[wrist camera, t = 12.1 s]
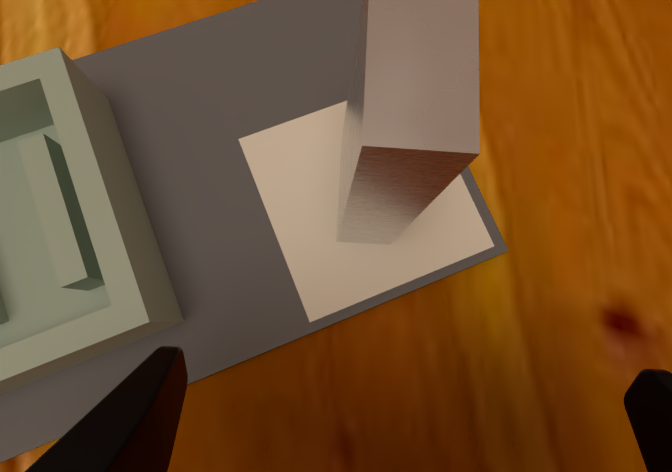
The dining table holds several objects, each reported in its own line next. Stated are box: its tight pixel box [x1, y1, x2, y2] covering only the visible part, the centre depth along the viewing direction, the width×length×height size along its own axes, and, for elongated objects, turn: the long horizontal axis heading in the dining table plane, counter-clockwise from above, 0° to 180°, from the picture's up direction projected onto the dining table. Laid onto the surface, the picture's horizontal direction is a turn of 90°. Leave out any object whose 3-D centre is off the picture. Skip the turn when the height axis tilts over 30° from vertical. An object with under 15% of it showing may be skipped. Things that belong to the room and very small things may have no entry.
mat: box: [0, 0, 508, 462], centre depth 20 cm, size 16×25×1 cm, turn 112°
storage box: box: [0, 47, 184, 395], centre depth 17 cm, size 11×9×4 cm
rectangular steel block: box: [336, 0, 480, 245], centre depth 15 cm, size 5×2×11 cm, turn 177°
